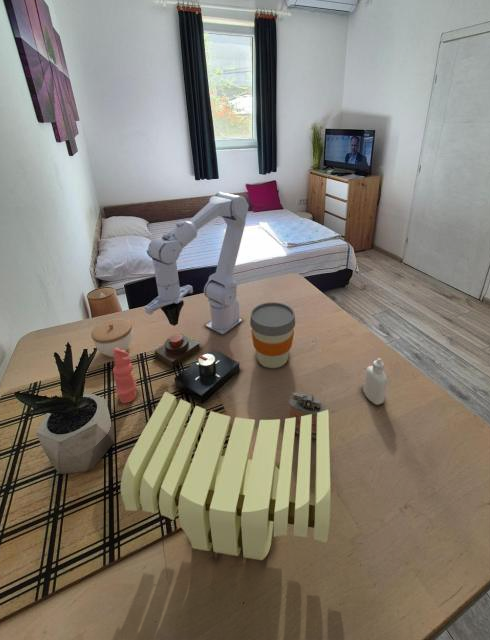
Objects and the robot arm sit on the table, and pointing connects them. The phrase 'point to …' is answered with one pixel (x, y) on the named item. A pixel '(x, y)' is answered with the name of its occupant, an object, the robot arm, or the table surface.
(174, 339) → the button
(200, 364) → the dial
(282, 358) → the reusable coffee cup
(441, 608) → the table surface
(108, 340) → the trinket box
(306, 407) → the lighter
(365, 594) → the table surface
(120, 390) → the figurine
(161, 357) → the button block
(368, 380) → the eye dropper bottle
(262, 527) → the slatted curved stool
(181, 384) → the panel
